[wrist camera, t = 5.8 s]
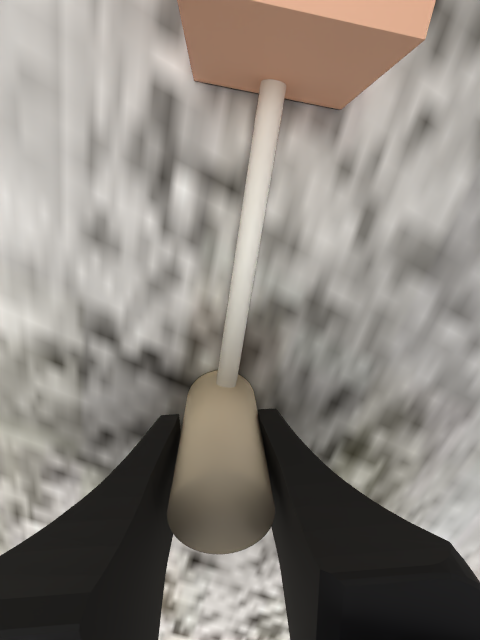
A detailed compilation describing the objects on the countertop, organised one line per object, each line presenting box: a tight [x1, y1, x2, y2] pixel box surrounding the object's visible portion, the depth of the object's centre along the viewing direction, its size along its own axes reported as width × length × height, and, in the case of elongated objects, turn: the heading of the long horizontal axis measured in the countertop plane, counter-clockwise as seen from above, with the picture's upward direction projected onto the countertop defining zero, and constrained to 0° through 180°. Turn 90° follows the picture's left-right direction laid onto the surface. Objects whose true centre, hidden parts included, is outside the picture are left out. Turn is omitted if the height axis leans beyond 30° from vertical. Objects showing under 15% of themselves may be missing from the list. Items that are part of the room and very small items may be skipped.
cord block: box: [167, 0, 436, 554], centre depth 9 cm, size 4×16×5 cm, turn 171°
